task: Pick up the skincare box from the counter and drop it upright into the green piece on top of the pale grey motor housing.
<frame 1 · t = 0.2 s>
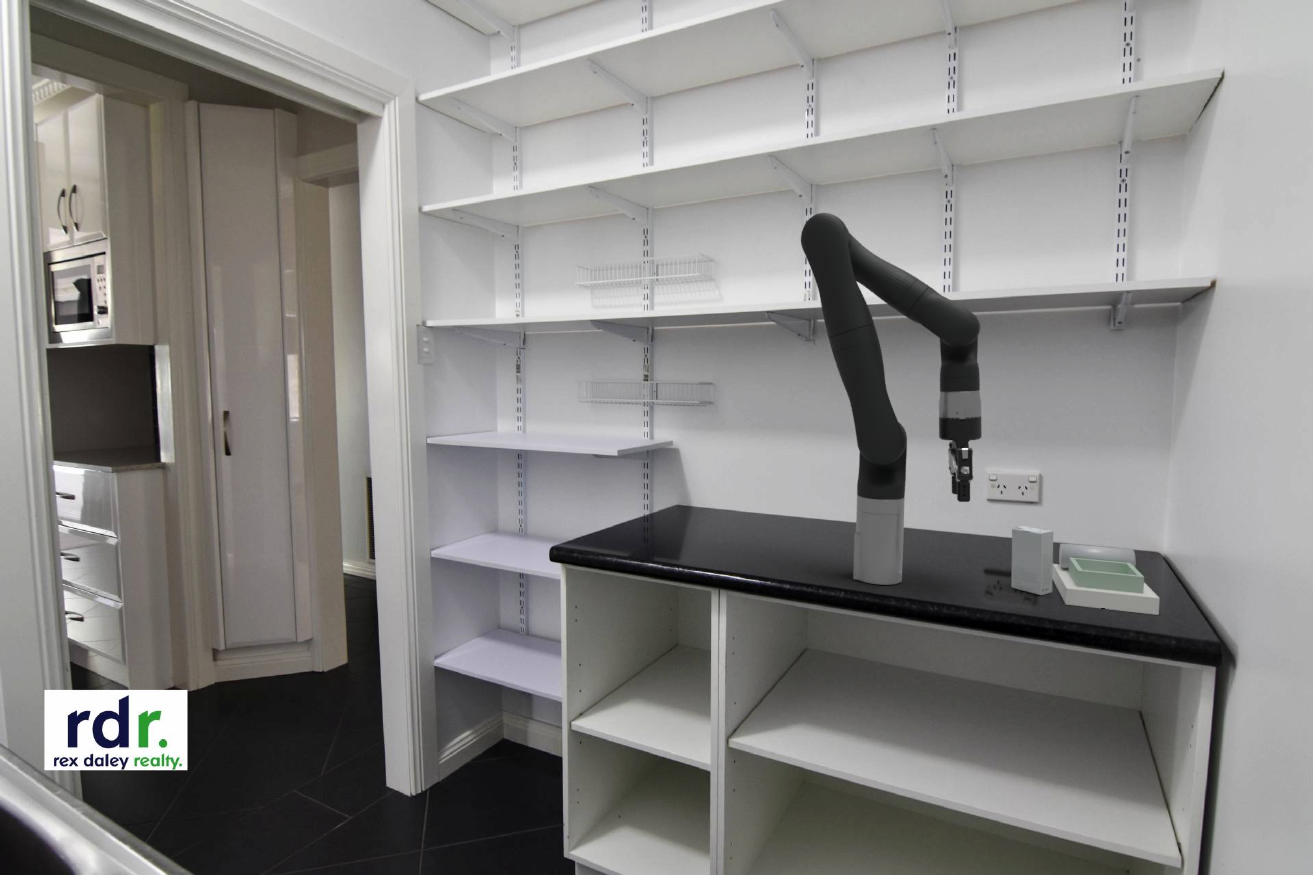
hand: (960, 497, 133), 18 cm above the worktop, tool pointing down, fingers open, 8 cm apart
green piece: (1103, 582, 127), resting on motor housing
skincare box: (1030, 591, 132), on the worktop
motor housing: (1100, 594, 129), on the worktop
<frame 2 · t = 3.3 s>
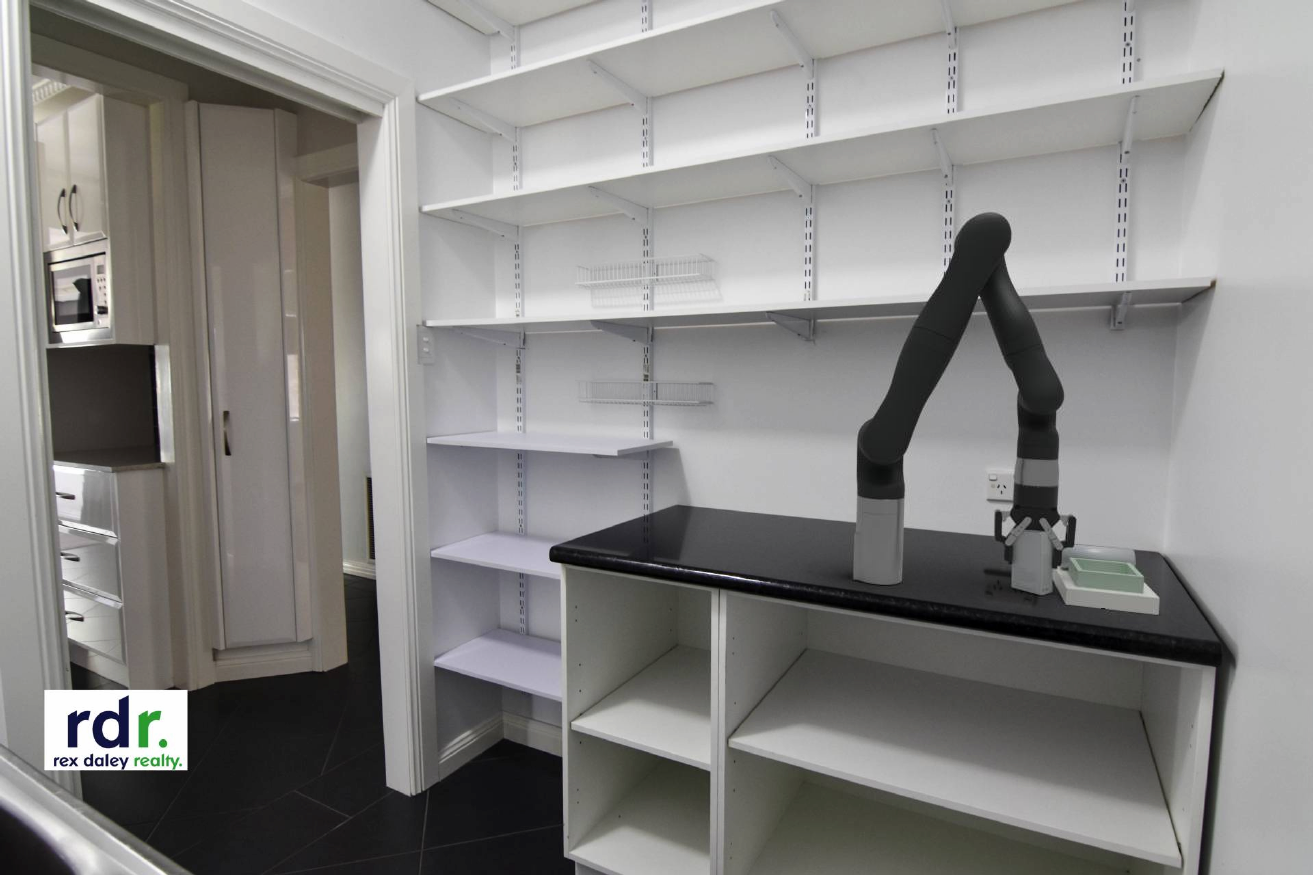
hand: (1031, 565, 132), 5 cm above the worktop, tool pointing down, fingers closed on skincare box, 7 cm apart
skincare box: (1030, 591, 132), on the worktop, touching gripper
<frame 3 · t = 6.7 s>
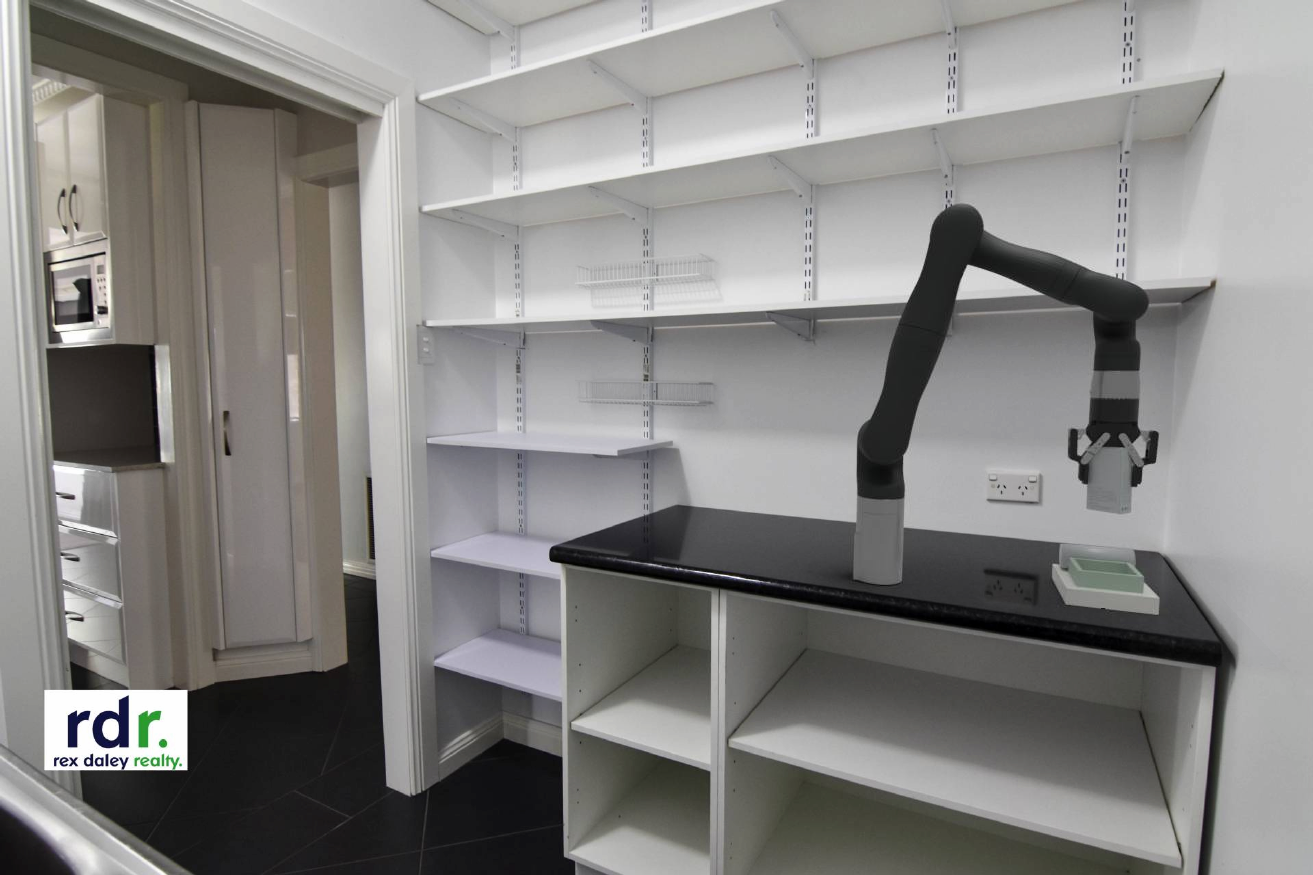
hand: (1109, 485, 126), 21 cm above the worktop, tool pointing down, fingers closed on skincare box, 7 cm apart
skincare box: (1107, 512, 126), point 16 cm above the worktop, touching gripper
when the fingers open (9 cm above the worktop, at t = 9.9 s): skincare box drops 1 cm, resting on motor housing.
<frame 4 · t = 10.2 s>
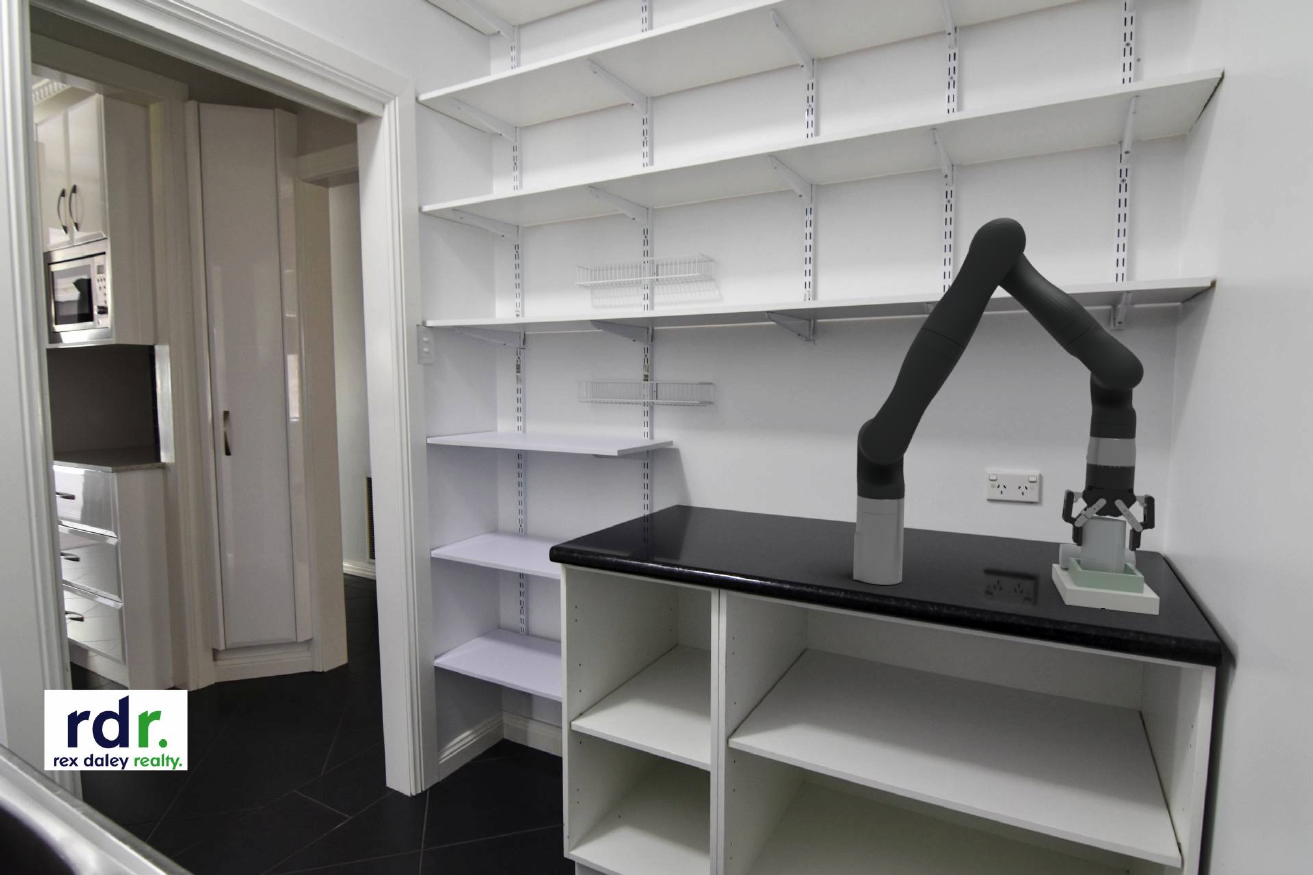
hand: (1105, 547, 127), 10 cm above the worktop, tool pointing down, fingers open, 8 cm apart
skincare box: (1100, 582, 128), point 3 cm above the worktop, touching gripper, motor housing
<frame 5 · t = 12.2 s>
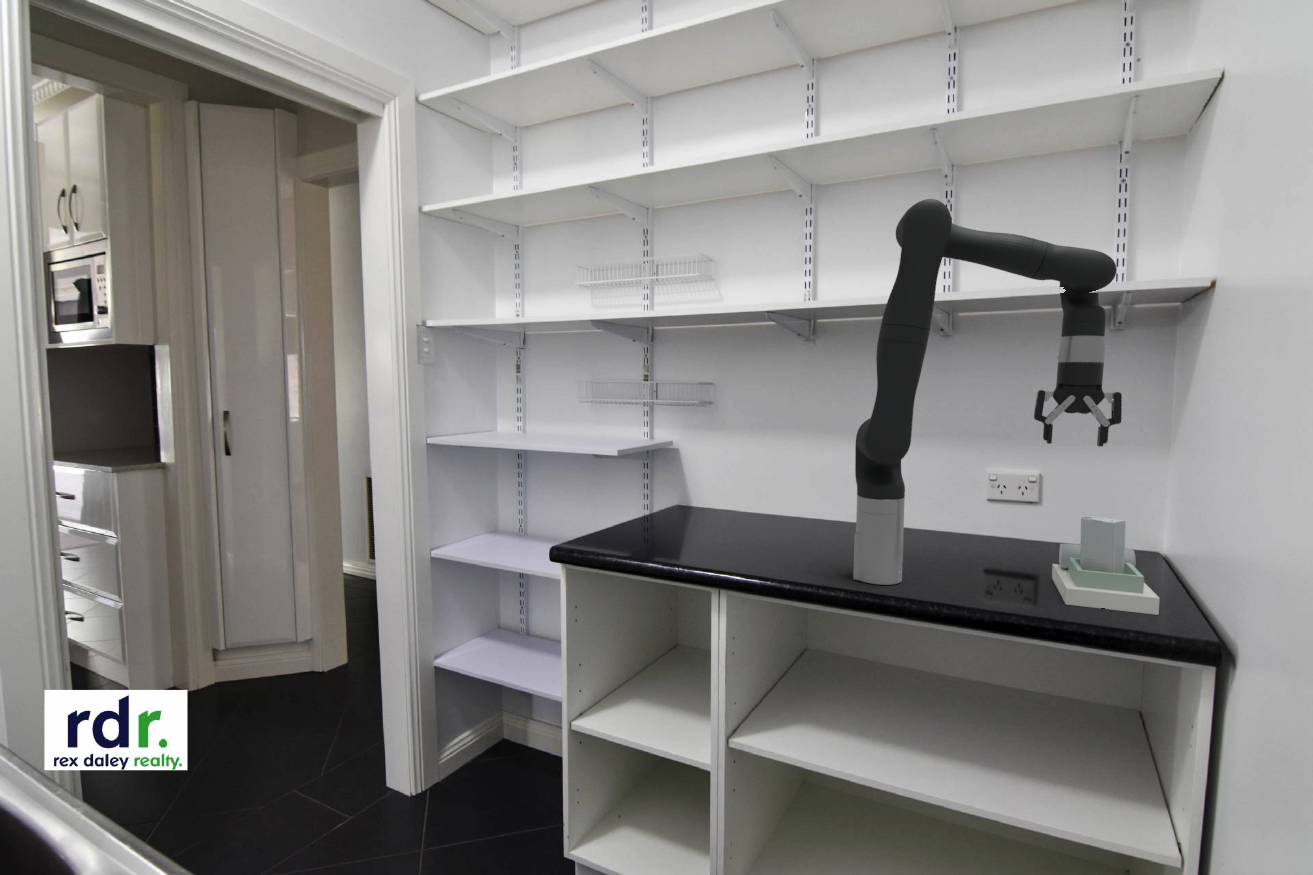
hand: (1074, 444, 132), 28 cm above the worktop, tool pointing down, fingers open, 8 cm apart
skincare box: (1100, 583, 128), point 3 cm above the worktop, touching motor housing
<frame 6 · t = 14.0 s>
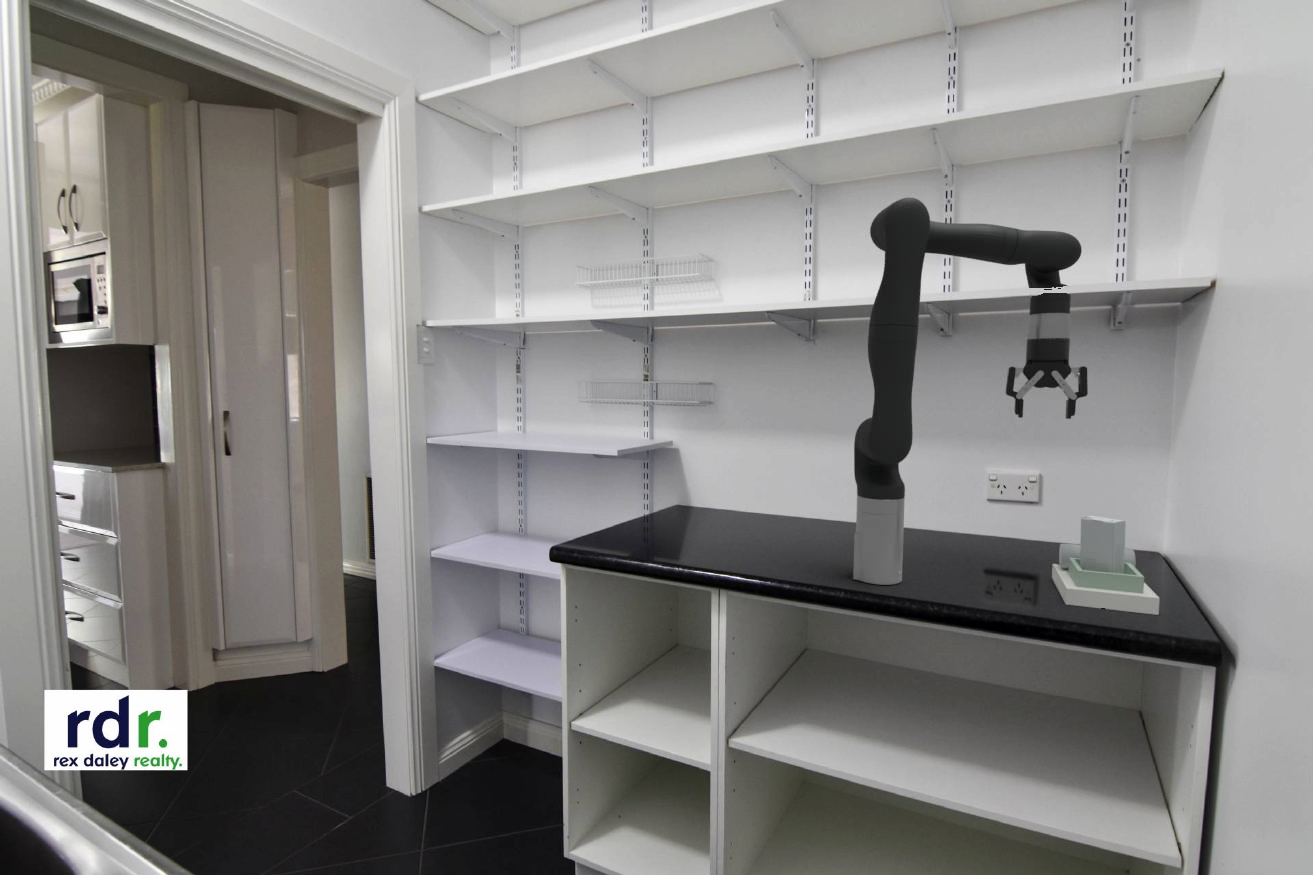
hand: (1044, 418, 138), 33 cm above the worktop, tool pointing down, fingers open, 8 cm apart
nothing on the worktop moved.
at the end: skincare box 0.6 cm off-centre on the green piece, point 0.0 cm above the green piece's base; skincare box tilted 0°; the gripper is holding nothing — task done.
